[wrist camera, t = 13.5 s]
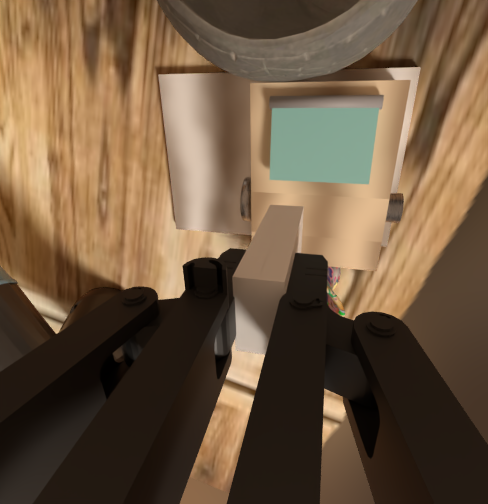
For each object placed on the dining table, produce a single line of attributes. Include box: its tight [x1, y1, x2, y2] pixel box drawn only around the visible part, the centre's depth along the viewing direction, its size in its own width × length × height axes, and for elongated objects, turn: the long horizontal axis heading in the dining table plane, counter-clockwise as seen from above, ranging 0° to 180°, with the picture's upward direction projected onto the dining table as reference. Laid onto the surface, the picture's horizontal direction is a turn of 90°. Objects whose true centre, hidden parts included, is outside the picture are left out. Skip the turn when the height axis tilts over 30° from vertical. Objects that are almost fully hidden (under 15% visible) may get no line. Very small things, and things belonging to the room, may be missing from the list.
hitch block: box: [158, 67, 421, 271], centre depth 35 cm, size 26×18×9 cm
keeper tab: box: [269, 95, 384, 184], centre depth 27 cm, size 8×6×1 cm
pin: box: [240, 177, 404, 223], centre depth 34 cm, size 15×5×5 cm, turn 91°
